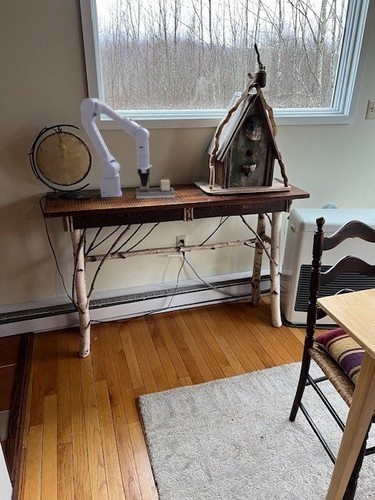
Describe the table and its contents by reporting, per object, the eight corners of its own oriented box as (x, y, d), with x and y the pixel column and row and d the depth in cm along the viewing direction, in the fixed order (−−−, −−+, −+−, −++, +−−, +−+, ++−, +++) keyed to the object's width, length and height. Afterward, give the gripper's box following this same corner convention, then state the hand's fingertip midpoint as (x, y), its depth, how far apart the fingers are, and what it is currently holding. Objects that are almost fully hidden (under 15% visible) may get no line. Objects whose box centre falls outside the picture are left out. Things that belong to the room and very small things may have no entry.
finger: (140, 189, 170) (139, 176, 168) (140, 187, 174) (139, 174, 171) (149, 189, 171) (149, 176, 168) (149, 186, 174) (149, 174, 172)
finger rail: (136, 198, 169) (135, 183, 166) (136, 193, 177) (135, 179, 174) (174, 197, 171) (174, 182, 168) (172, 192, 180) (172, 178, 177)
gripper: (152, 158, 160) (153, 188, 165) (151, 153, 173) (152, 181, 179) (136, 158, 159) (138, 189, 165) (136, 153, 172) (137, 181, 178)
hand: (144, 185), depth 171 cm, fingers closed on finger, 4 cm apart
